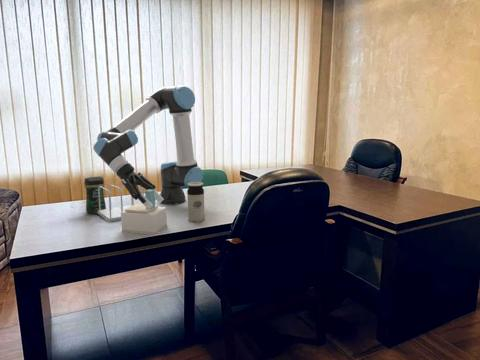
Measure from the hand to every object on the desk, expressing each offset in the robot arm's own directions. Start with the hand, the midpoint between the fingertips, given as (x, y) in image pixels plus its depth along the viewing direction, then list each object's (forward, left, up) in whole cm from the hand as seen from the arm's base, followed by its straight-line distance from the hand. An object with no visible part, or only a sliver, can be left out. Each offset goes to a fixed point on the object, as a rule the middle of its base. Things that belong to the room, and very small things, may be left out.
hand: (156, 204), depth 166 cm
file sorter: (-4, -33, -12) cm, 36 cm away
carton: (+3, -5, -12) cm, 13 cm away
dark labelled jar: (-22, +1, -12) cm, 25 cm away
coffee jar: (+5, -48, -12) cm, 50 cm away
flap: (+4, -6, -3) cm, 8 cm away
